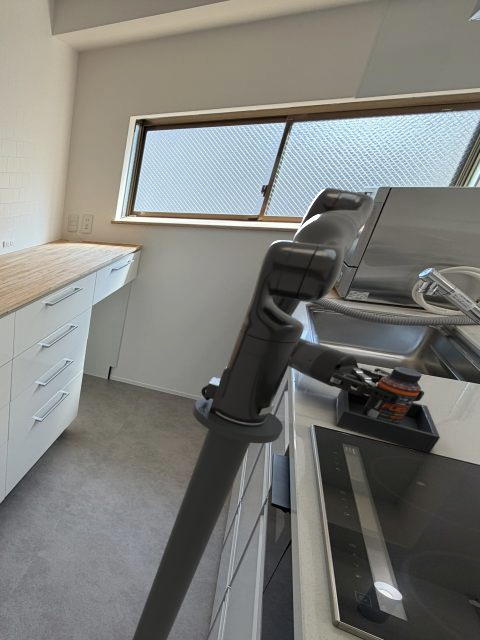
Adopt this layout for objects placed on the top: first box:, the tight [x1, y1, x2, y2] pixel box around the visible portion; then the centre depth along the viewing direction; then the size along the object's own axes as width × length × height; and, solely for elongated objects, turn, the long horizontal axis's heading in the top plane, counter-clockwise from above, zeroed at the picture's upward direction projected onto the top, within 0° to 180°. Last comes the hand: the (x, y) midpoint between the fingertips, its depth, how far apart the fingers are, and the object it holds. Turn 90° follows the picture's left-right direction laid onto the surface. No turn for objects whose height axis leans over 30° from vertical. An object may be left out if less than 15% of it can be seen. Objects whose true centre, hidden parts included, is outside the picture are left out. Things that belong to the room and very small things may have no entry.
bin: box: [335, 389, 441, 454], centre depth 84 cm, size 14×16×4 cm
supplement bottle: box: [361, 366, 423, 425], centre depth 82 cm, size 6×6×11 cm
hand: (409, 398), depth 80 cm, fingers closed on supplement bottle, 6 cm apart
